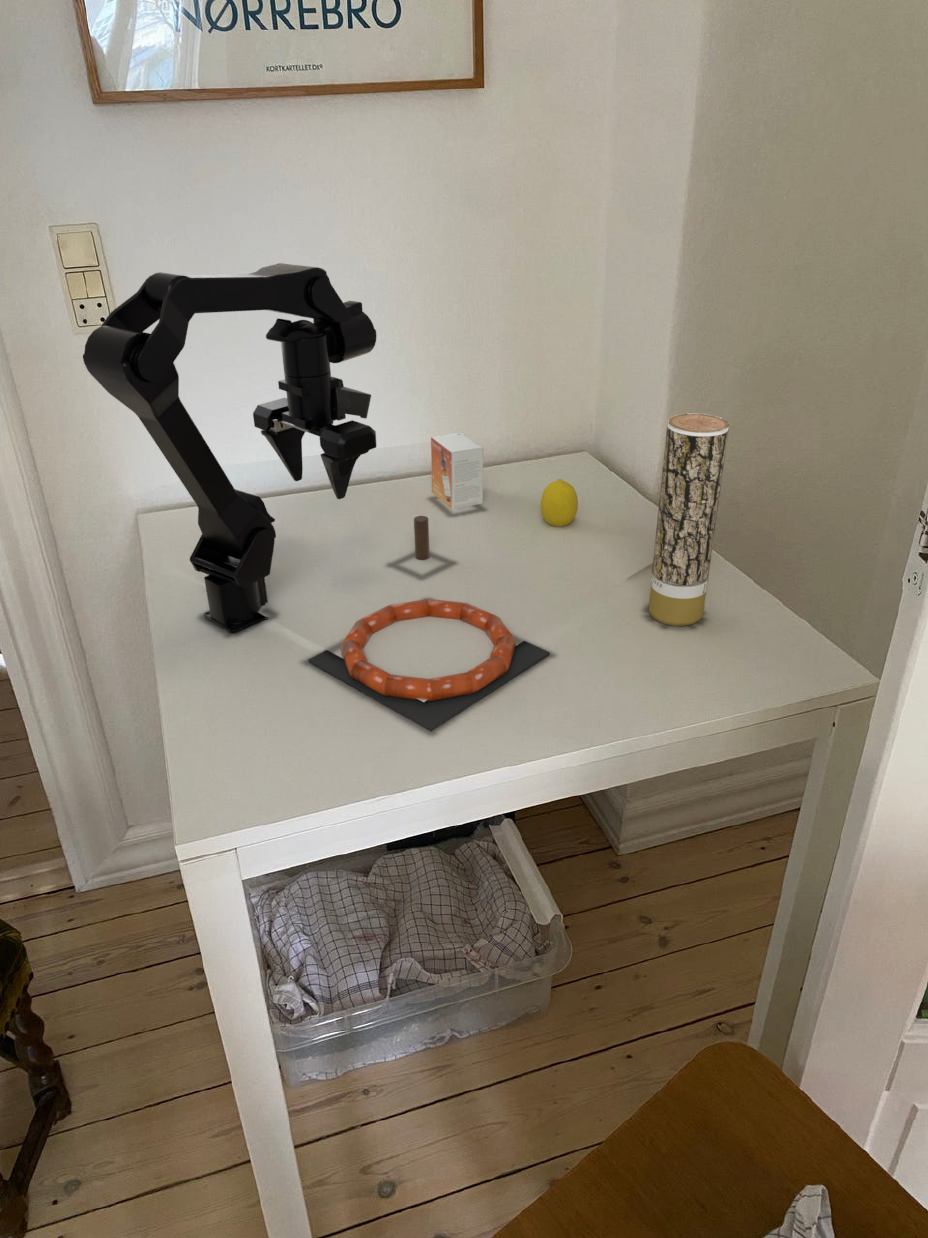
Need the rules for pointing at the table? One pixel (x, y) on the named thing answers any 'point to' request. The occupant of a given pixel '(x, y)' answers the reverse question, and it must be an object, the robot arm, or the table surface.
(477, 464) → the small box
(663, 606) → the paper tube
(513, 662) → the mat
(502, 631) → the ring
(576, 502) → the lemon
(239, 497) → the robot arm
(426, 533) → the brown cylinder
